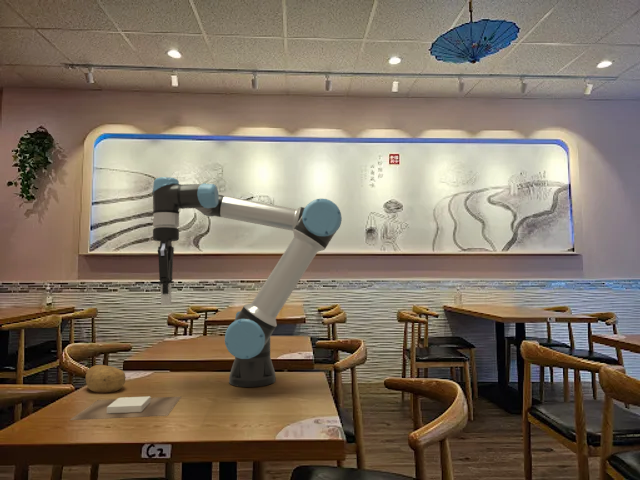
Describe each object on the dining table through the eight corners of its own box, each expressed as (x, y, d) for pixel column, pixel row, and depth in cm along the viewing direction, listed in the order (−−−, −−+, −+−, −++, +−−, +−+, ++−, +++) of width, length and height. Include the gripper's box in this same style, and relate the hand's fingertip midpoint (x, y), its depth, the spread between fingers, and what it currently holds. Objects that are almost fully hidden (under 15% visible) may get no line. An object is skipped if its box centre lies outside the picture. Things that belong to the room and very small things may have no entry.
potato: (102, 401, 113) (103, 372, 114) (76, 394, 120) (77, 366, 121) (134, 393, 121) (135, 365, 122) (108, 386, 128) (109, 360, 129)
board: (181, 400, 113) (181, 396, 113) (167, 420, 97) (167, 415, 97) (97, 404, 110) (97, 399, 110) (69, 425, 94) (69, 419, 94)
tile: (150, 396, 108) (141, 405, 100) (150, 402, 107) (141, 412, 99) (118, 397, 106) (106, 407, 99) (118, 404, 106) (106, 414, 98)
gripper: (157, 230, 131) (157, 304, 128) (148, 225, 118) (148, 307, 116) (181, 230, 132) (182, 303, 130) (175, 224, 119) (175, 305, 117)
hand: (166, 305), depth 123 cm, fingers closed
